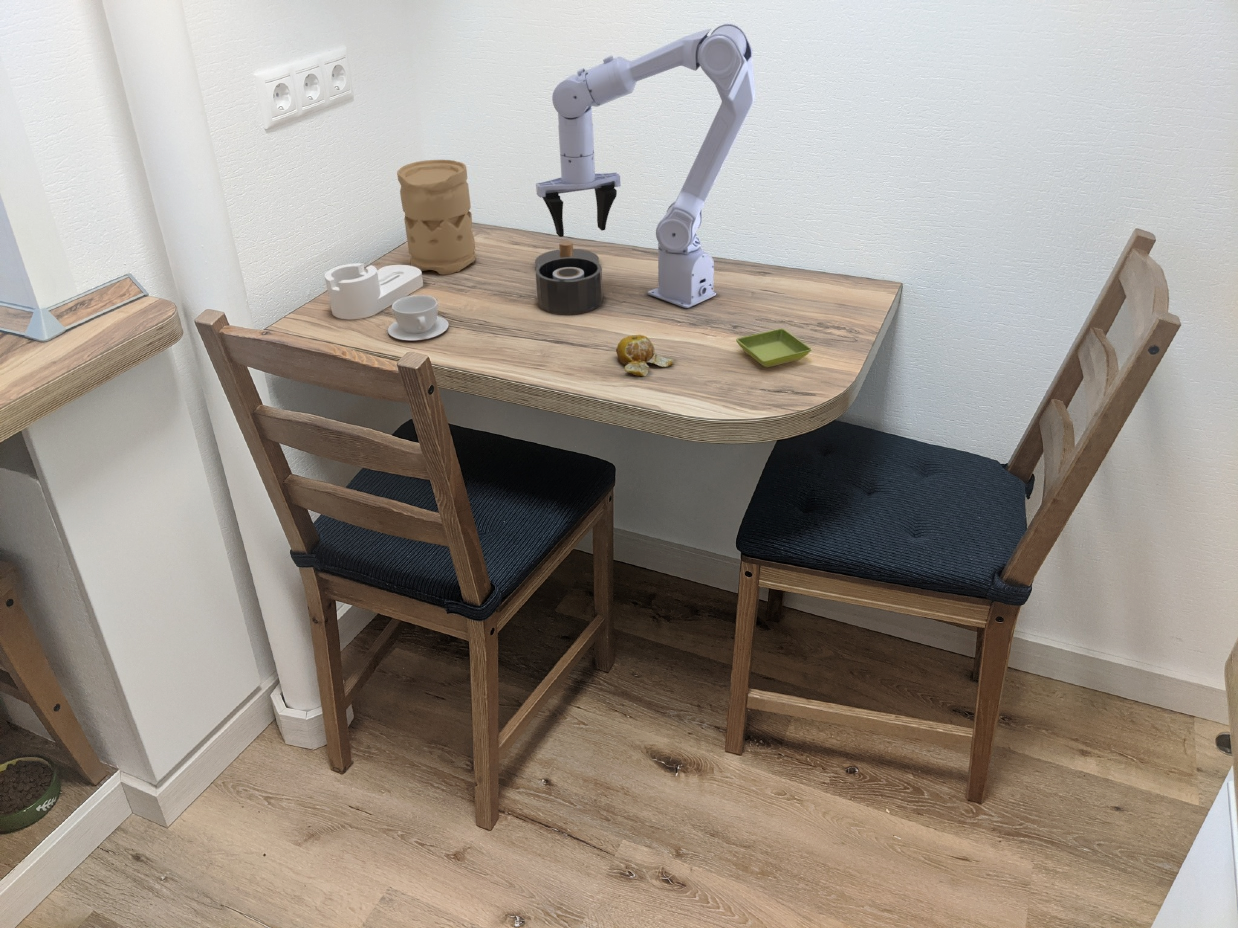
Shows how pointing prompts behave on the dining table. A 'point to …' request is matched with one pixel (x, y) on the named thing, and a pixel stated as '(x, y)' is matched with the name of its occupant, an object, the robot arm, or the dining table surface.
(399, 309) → the teacup
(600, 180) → the robot arm
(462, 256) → the container
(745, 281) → the dining table surface
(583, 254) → the lid
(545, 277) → the pot
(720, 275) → the dining table surface
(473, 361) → the dining table surface
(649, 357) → the fruit
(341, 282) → the bracket
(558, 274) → the tape roll
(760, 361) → the saucer
